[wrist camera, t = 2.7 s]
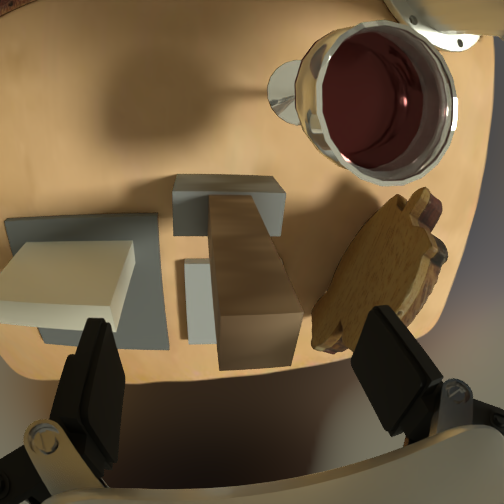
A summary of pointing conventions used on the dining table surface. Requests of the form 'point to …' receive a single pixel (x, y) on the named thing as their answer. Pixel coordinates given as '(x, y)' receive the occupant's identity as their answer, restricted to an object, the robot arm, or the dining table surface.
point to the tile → (66, 283)
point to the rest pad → (199, 302)
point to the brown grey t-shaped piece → (242, 265)
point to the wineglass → (371, 101)
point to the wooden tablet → (11, 5)
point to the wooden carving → (382, 271)
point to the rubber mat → (141, 283)
